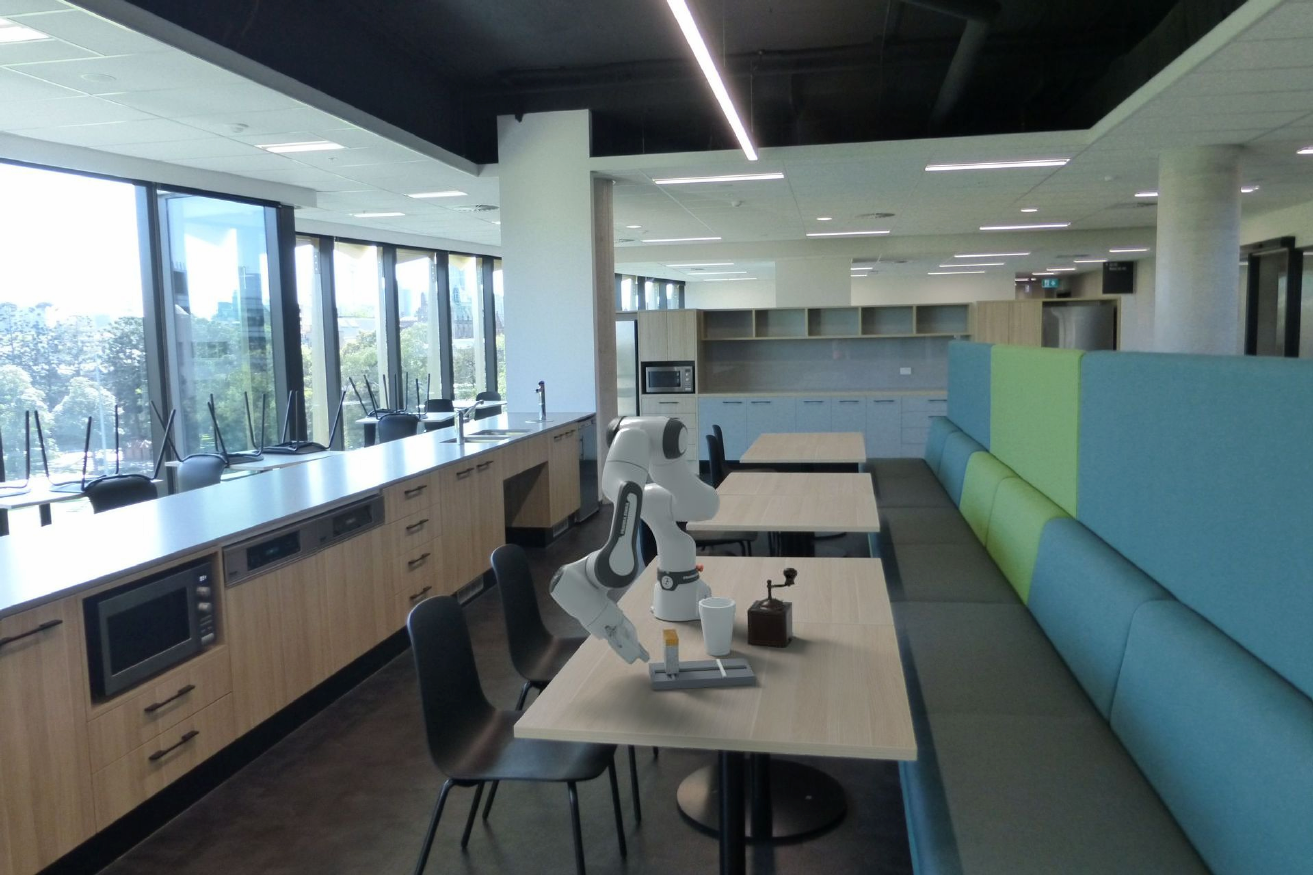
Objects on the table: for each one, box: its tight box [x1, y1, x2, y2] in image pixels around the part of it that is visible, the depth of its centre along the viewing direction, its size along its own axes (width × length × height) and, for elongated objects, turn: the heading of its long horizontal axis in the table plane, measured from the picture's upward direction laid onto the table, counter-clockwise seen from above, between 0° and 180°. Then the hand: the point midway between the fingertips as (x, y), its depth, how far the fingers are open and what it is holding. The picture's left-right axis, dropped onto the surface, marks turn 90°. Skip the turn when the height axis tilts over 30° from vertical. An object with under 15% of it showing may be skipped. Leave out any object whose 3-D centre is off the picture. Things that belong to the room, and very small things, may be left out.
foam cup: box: [699, 596, 737, 657], centre depth 233 cm, size 10×9×13 cm
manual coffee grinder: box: [746, 567, 798, 648], centre depth 243 cm, size 16×11×18 cm
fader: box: [662, 628, 680, 674], centre depth 215 cm, size 3×7×9 cm, turn 5°
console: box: [648, 657, 756, 691], centre depth 216 cm, size 24×12×2 cm, turn 95°
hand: (647, 658), depth 214 cm, fingers closed
